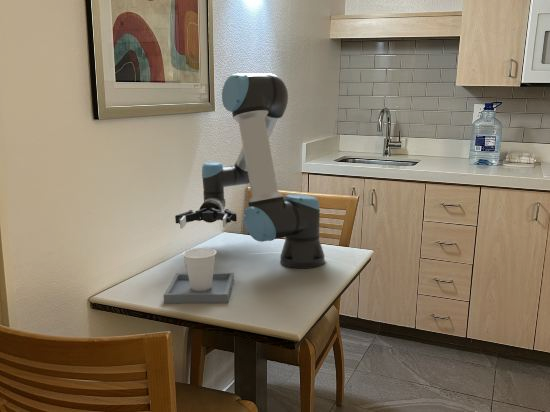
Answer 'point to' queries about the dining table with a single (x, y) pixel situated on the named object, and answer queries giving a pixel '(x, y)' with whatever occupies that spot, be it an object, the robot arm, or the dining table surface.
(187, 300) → the tray
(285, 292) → the dining table surface
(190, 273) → the cup
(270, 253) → the dining table surface
